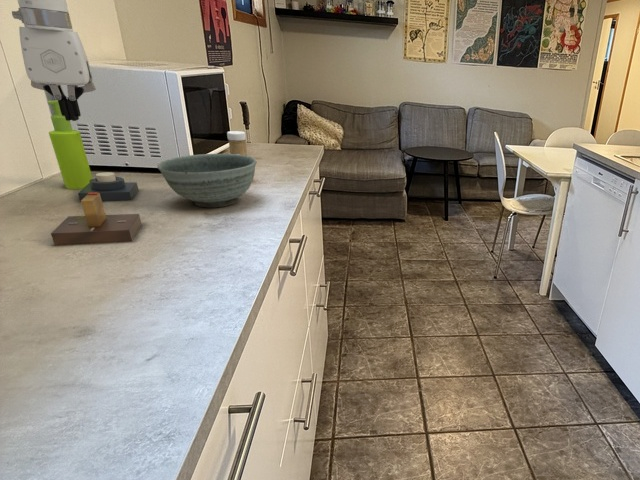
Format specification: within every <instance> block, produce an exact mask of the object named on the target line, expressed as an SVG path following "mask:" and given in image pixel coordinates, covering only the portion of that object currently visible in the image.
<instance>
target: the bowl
mask: <svg viewBox="0 0 640 480" xmlns="http://www.w3.org/2000/svg"><path fill="white" fill-rule="evenodd" d="M256 165H257V160H256V158H254V157H252V156H244V155H236V154H230V153H202V154H191V155H182V156H177V157H173V158H169V159H166V160H164V161H161V162H160V163H158V164H157V169H158V170H159V171H160V173H161V176H162V177H163V178H164V179H165V182H166V183H167V184H168V186H169V187H170V188H171V190H173V192H175V193H176V194H177V195H178V196H180V197H181V198H184V199H185V200H188V201H192V202H194V204H195V205H196V206H198V207H202V208H220V207H227V206H230V205H233V204H235V203H237V201H238V198H239V197H241V196H243V195H244V194H245V193H246V192H247V191H248V190H249V189H250V187H251V186H252V184H253V180H254V177H255V172H256V171H255V170H256Z"/></svg>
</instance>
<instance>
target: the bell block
mask: <svg viewBox="0 0 640 480" xmlns="http://www.w3.org/2000/svg"><path fill="white" fill-rule="evenodd" d="M115 178H116V181H111V182H98V181H97V177H94V178H93V179H91V180H90V181H89V182H90V183H89V184H87V185H86V186H85V187H84V188H83V189H80V191H78V193H77V194H78V195H77V196H78V197H79V201H80V202H81V200H82V199H83V198H84V197H86V196H87V195H88V193H90V192H98V193H100V196H101V200H102V202H123V201H124V202H125V201H128V202H129V201H130V202H131V201H133V199H134V198H135V197H136V195H137V194H138V192H139V191H140V190H139V187H138V182H137V181H136V182H134V181H133V182H132V181H131V182H125V179H124V177H121V176H115Z"/></svg>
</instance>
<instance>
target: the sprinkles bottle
mask: <svg viewBox="0 0 640 480" xmlns="http://www.w3.org/2000/svg"><path fill="white" fill-rule="evenodd" d="M226 136H227V137H226V138H227V141H228V145H229V154H236V155H244V156H248V148H247V135H246V132H245V131H242V130H229V131H227V132H226Z"/></svg>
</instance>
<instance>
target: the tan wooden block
mask: <svg viewBox="0 0 640 480" xmlns="http://www.w3.org/2000/svg"><path fill="white" fill-rule="evenodd" d="M80 204H81V207H82V210H83V213H84V216H85V217H86V220H87V223H88V227H100V226H101V225H102V223H103V222H104V221H105V220H106V215H107V214H106V211H105V207H104V204H103V201H102V200H101V196H100V193H98V192H90V193H88V195H87V196H86V197H84V198H83V199H82V200H81V201H80Z"/></svg>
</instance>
